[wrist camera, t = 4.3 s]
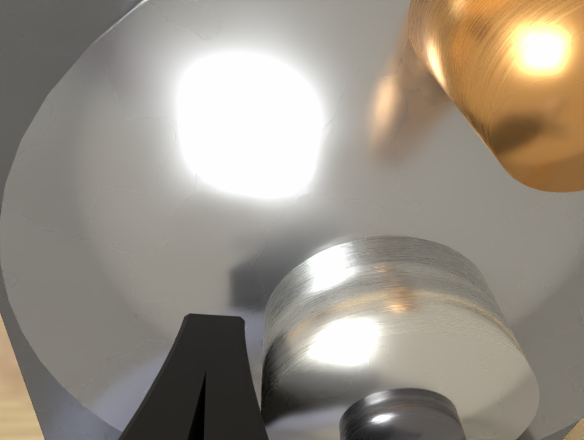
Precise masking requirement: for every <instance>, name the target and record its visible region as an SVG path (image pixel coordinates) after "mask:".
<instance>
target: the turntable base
mask: <svg viewBox="0 0 584 440" xmlns="http://www.w3.org/2000/svg"><path fill="white" fill-rule="evenodd" d="M141 1H142V0H0V216H1V209H2V203H3V196H4V190H5V184H6V181H7V178H8V175H9V173H10V170H11V167H12V164H13V161H14V159H15V156H16V153H17V150H18V147H19V145H20V142H21V139H22V138H23V136H24V134H25V133H26V131H27V129H28V127H29V126H30V124H31V122H32V121H33V119H34V117H35V116H36V114H37V112H38V110H39V109H40V107H41V105H42V104H43V102H44V100H45V98H46V97H47V95H48V94H49V93H50V91H51V90H52V89H53V88H54V87H55V86H56V84H57V83H58V82H59V81H60V80H61V79H62V77H63V76H64V75H65V74H66V73H67V72H68V70H69V69H70V68H71V67H72V66H73V65H74V63H75V62H76V61H77V60H78V59H79V58H80V56H81V55H82V54H83V53H84V52H85V51H86V50H87V49H88V48H89V47H90V46H91V45H92V44H93V43H94V42H95V41H96V40H97V39H98V38H99V37H100V36H101V35H102V34H103V33H104V32H106V31H107V30H108V29H109V28H110V27H111V26H112V25H113V24H114V23H116V22H117V21H118V20H119V19H120V18H122V17H123V16H124V15H125V14H126V13H128V12H129V11H130V10H131V9H132V8H134V7H135V6H136V5H137V4H138V3H140V2H141ZM0 313H1V316H2V319H3V322H4V325H5V328H6V330H7V333H8V336H9V339H10V342H11V345H12V347H13V350H14V353H15V356H16V359H17V362H18V365H19V367H20V370H21V373H22V376H23V379H24V382H25V384H26V387H27V390H28V393H29V396H30V399H31V401H32V404H33V407H34V410H35V413H36V416H37V419H38V421H39V424H40V427H41V430H42V433H43V436H44V438H45V440H118V439H119V437H120V436H121V434H122V433H123V432H121V431H119V430H118V429H116V428H114V427H113V426H111V425H109V424H108V423H106V422H105V421H104V420H102V419H101V418H100V417H98V416H97V415H95V414H94V413H93V412H91V411H90V410H88V409H87V408H86V407H84V406H83V405H82V404H81V403H80V402H79V401H78V400H77V399H75V398H74V397H73V396H72V395H71V394H70V393H69V392H68V391H67V390H66V389H64V388H63V387H62V386H61V385H60V384H59V382H58V381H57V380H56V379H55V378H54V377H53V375H52V374H51V373H50V372H49V371H48V369H47V368H46V367H45V366H44V365H43V364H42V362H41V361H40V360H39V358H38V357H37V355H36V353H35V352H34V350H33V349H32V347H31V346H30V344H29V342H28V341H27V339H26V338H25V336H24V334H23V333H22V331H21V328H20V326H19V324H18V321H17V319H16V317H15V314H14V312H13V310H12V307H11V305H10V302H9V300H8V295H7V291H6V287H5V282H4V278H3V274H2V269H1V265H0ZM578 421H579V420H578ZM578 421H576V422H575V423H573V424H571V425H569V426H567V427H566V428H564V429H561V430H559V431H557V432H555V433H553V434H551V435H549V436H546V437H544V438H542V439H540V440H562V439H563V438H564V437H565V436H566V435H567V434H568V433H569V432H570V430H571V429H572V428H573V427H574V426H575V425H576V424H577V423H578Z"/></svg>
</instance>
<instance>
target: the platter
mask: <svg viewBox="0 0 584 440" xmlns="http://www.w3.org/2000/svg"><path fill="white" fill-rule="evenodd" d="M381 236H405V237H414V238H421V239H425V240H429V241H433V242H437V243H439V244H442V245H445V246H447V247H450V248H452V249H453V250H455V251H457V252H459V253H461V254H462V255H464V256H465V257H466V258H468V259H469V260H470V261H471V262H472V263H473V264H474V265H475V266H476V267H477V268H478V269H479V270H480V272H481V273H482V275H483V276H484V278H485V280H486V282H487V284H488V286H489V287H490V289H491V291H492V293H493V295H494V297H495V299H496V301H497V303H498V305H499V307H500V309H501V311H502V313H503V315H504V317H505V319H506V321H507V322H508V324H509V326H510V328H511V330H512V332H513V334H514V336H515V338H516V340H517V342H518V344H519V346H520V348H521V350H522V352H523V354H524V355H525V357H526V359H527V361H528V363H529V365H530V367H531V369H532V371H533V373H534V375H535V377H536V380H537V383H538V385H539V394H540V398H539V405H538V408H537V411H536V414H535V416H534V418H533V420H532V421H531V423H530V424H529V426H528V427H527V428H526V430H525V431H524V432H523V433H522V434H521V435H520V436H519V437H518V438H517V439H516V440H540V439H542V438H544V437H546V436H549V435H551V434H553V433H555V432H557V431H559V430H561V429H564V428H566V427H567V426H569V425H571V424H573V423H575V422H576V421H578V420H580V419H582V418H584V0H142V1H141V2H140V3H138V4H137V5H136V6H135V7H134V8H132V9H131V10H130V11H129V12H128V13H126V14H125V15H124V16H123V17H122V18H120V19H119V20H118V21H117V22H116V23H114V24H113V25H112V26H111V27H110V28H109V29H108V30H107V31H106V32H104V33H103V34H102V35H101V36H100V37H99V38H98V39H97V40H96V41H95V42H94V43H93V44H92V45H91V46H90V47H89V48H88V49H87V50H86V51H85V52H84V53H83V54H82V55H81V56H80V58H79V59H78V60H77V61H76V62H75V63H74V65H73V66H72V67H71V68H70V69H69V70H68V72H67V73H66V74H65V75H64V76H63V77H62V79H61V80H60V81H59V82H58V83H57V84H56V86H55V87H54V88H53V89H52V90H51V91H50V93H49V94H48V95H47V97H46V98H45V100H44V102H43V104H42V105H41V107H40V109H39V110H38V112H37V114H36V116H35V117H34V119H33V121H32V122H31V124H30V126H29V127H28V129H27V131H26V133H25V134H24V136H23V138H22V139H21V142H20V145H19V147H18V150H17V153H16V156H15V159H14V161H13V164H12V167H11V170H10V173H9V175H8V178H7V181H6V184H5V190H4V196H3V203H2V209H1V216H0V265H1V269H2V274H3V278H4V282H5V287H6V291H7V295H8V300H9V302H10V305H11V307H12V310H13V312H14V314H15V317H16V319H17V321H18V324H19V326H20V328H21V331H22V333H23V334H24V336H25V338H26V339H27V341H28V342H29V344H30V346H31V347H32V349H33V350H34V352H35V353H36V355H37V357H38V358H39V360H40V361H41V362H42V364H43V365H44V366H45V367H46V368H47V369H48V371H49V372H50V373H51V374H52V375H53V377H54V378H55V379H56V380H57V381H58V382H59V384H60V385H61V386H62V387H63V388H64V389H66V390H67V391H68V392H69V393H70V394H71V395H72V396H73V397H74V398H75V399H77V400H78V401H79V402H80V403H81V404H82V405H83V406H84V407H86V408H87V409H88V410H90V411H91V412H93V413H94V414H95V415H97V416H98V417H100V418H101V419H102V420H104V421H105V422H106V423H108V424H109V425H111V426H113V427H114V428H116V429H118V430H119V431H121V432H123V431H124V429H125V428H126V426H127V425H128V423H129V422H130V420H131V419H132V417H133V415H134V414H135V412H136V411H137V409H138V408H139V406H140V404H141V403H142V401H143V399H144V397H145V396H146V394H147V392H148V390H149V389H150V387H151V385H152V383H153V382H154V380H155V378H156V376H157V375H158V373H159V371H160V369H161V367H162V365H163V363H164V361H165V360H166V358H167V356H168V354H169V352H170V350H171V348H172V345H173V343H174V341H175V339H176V337H177V334H178V332H179V330H180V327H181V324H182V322H183V319H184V316H186V315H188V314H189V313H193V314H209V315H224V316H240V317H241V318H243V319H244V320H245V338H246V347H247V354H248V360H249V365H250V370H251V375H252V380H253V384H254V389H255V392H256V396H257V400H258V404H259V408H260V411H261V383H262V345H263V317H264V312H265V308H266V305H267V303H268V300H269V298H270V296H271V294H272V293H273V291H274V289H275V288H276V287H277V285H278V284H279V283H280V282H281V281H282V279H283V278H284V277H285V276H286V275H287V274H289V273H290V272H291V271H292V270H293V269H294V268H295V267H297V266H298V265H300V264H301V263H302V262H304V261H305V260H307V259H309V258H310V257H312V256H314V255H316V254H318V253H320V252H322V251H324V250H327V249H329V248H331V247H334V246H337V245H340V244H343V243H347V242H350V241H354V240H359V239H364V238H370V237H381Z"/></svg>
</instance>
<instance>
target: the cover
mask: <svg viewBox="0 0 584 440" xmlns="http://www.w3.org/2000/svg"><path fill="white" fill-rule="evenodd" d="M539 398H540V394H539V385H538V383H537V380H536V377H535V375H534V373H533V371H532V369H531V367H530V365H529V363H528V361H527V359H526V357H525V355H524V354H523V352H522V350H521V348H520V346H519V344H518V342H517V340H516V338H515V336H514V334H513V332H512V330H511V328H510V326H509V324H508V322H507V321H506V319H505V317H504V315H503V313H502V311H501V309H500V307H499V305H498V303H497V301H496V299H495V297H494V295H493V293H492V291H491V289H490V287H489V286H488V284H487V282H486V280H485V278H484V276H483V275H482V273H481V272H480V270H479V269H478V268H477V267H476V266H475V265H474V264H473V263H472V262H471V261H470V260H469V259H468V258H466V257H465V256H464V255H462V254H461V253H459V252H457V251H455V250H453V249H452V248H450V247H447V246H445V245H442V244H439V243H437V242H433V241H429V240H425V239H421V238H414V237H405V236H381V237H370V238H364V239H359V240H354V241H350V242H347V243H343V244H340V245H337V246H334V247H331V248H329V249H327V250H324V251H322V252H320V253H318V254H316V255H314V256H312V257H310V258H309V259H307V260H305V261H304V262H302V263H301V264H300V265H298V266H297V267H295V268H294V269H293V270H292V271H291V272H290V273H289V274H287V275H286V276H285V277H284V278H283V279H282V281H281V282H280V283H279V284H278V285H277V287H276V288H275V289H274V291H273V293H272V294H271V296H270V298H269V300H268V303H267V305H266V308H265V312H264V317H263V345H262V383H261V415H262V419H263V422H264V425H265V429H266V432H267V435H268V438H269V440H516V439H517V438H518V437H519V436H520V435H521V434H522V433H523V432H524V431H525V430H526V428H527V427H528V426H529V424H530V423H531V421H532V420H533V418H534V416H535V414H536V411H537V408H538V405H539Z"/></svg>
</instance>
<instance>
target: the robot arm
mask: <svg viewBox="0 0 584 440" xmlns="http://www.w3.org/2000/svg"><path fill="white" fill-rule="evenodd" d="M118 440H269V438H268V435H267V432H266V429H265V425H264V422H263V419H262V415H261V411H260V408H259V404H258V400H257V396H256V392H255V389H254V384H253V380H252V375H251V370H250V365H249V360H248V354H247V347H246V338H245V320H244V319H243V318H241V317H240V316H224V315H209V314H193V313H189V314H188V315H186V316H184V319H183V322H182V324H181V327H180V330H179V332H178V334H177V337H176V339H175V341H174V343H173V345H172V348H171V350H170V352H169V354H168V356H167V358H166V360H165V361H164V363H163V365H162V367H161V369H160V371H159V373H158V375H157V376H156V378H155V380H154V382H153V383H152V385H151V387H150V389H149V390H148V392H147V394H146V396H145V397H144V399H143V401H142V403H141V404H140V406H139V408H138V409H137V411H136V412H135V414H134V415H133V417H132V419H131V420H130V422H129V423H128V425H127V426H126V428H125V429H124V431H123V433H122V434H121V436H120V437H119V439H118Z"/></svg>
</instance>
